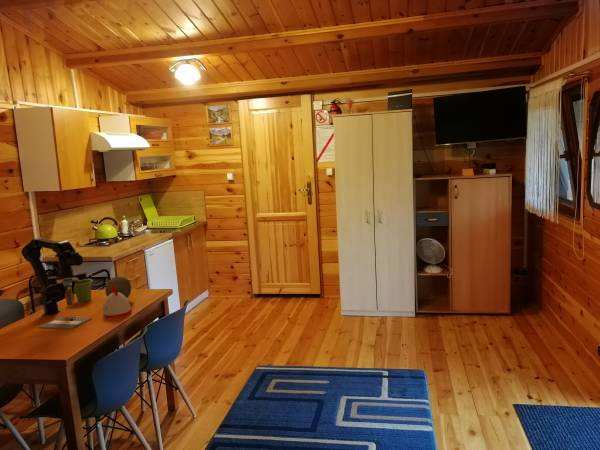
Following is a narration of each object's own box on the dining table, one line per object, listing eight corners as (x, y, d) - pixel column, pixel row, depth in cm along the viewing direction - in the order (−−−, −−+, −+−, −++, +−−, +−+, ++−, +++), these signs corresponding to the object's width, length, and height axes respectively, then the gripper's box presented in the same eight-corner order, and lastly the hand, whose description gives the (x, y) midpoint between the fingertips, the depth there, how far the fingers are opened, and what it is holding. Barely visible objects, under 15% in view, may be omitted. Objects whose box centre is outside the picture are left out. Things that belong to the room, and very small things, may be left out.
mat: (38, 327, 233) (38, 326, 233) (59, 318, 246) (59, 316, 246) (71, 329, 227) (71, 328, 227) (91, 319, 241) (91, 318, 241)
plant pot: (95, 295, 284) (92, 277, 282) (95, 301, 273) (92, 282, 271) (73, 299, 279) (70, 281, 278) (72, 304, 268) (70, 285, 267)
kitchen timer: (126, 307, 256) (123, 281, 254) (135, 313, 246) (131, 285, 243) (100, 314, 248) (96, 287, 246) (108, 320, 237) (104, 291, 235)
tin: (72, 307, 241) (71, 291, 240) (65, 307, 239) (64, 291, 239) (75, 299, 255) (74, 284, 254) (68, 300, 253) (67, 285, 252)
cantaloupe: (101, 305, 264) (97, 279, 261) (122, 297, 276) (119, 273, 273) (117, 308, 256) (114, 281, 254) (138, 300, 268) (135, 275, 266)
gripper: (85, 259, 255) (89, 287, 257) (47, 264, 248) (51, 293, 251) (84, 263, 244) (88, 292, 247) (44, 269, 238) (49, 298, 240)
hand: (69, 293), depth 246 cm, fingers closed on tin, 3 cm apart
